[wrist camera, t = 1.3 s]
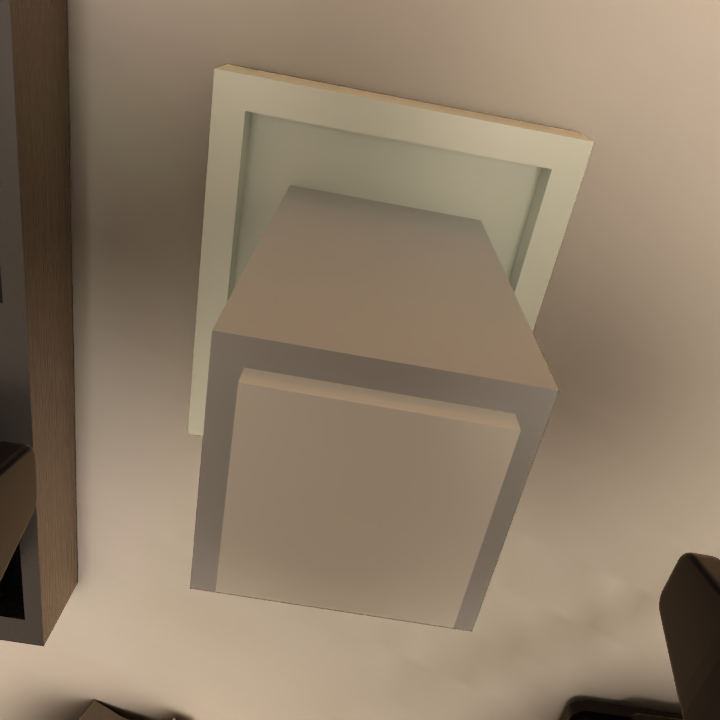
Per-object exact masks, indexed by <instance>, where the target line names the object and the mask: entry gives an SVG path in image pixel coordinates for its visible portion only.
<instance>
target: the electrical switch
mask: <svg viewBox="0 0 720 720" xmlns="http://www.w3.org/2000/svg"><path fill="white" fill-rule="evenodd" d="M79 720H128V719H126V718H123V717H121V716H119V715H118V714H116V713H115V712H113V711H112V710H110V709H109V708H107V707H106V706H104V705H102V704H101V703H99V702H98V701H95V700H94V701H93V702H92V704H91V705H90V706H89V707H88V709H87V710H86V711H85V712H84V713H83V715H82V716H81V717H80V718H79ZM172 720H176V719H175V717H174V718H173V719H172Z"/></svg>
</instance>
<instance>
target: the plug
mask: <svg viewBox="0 0 720 720" xmlns="http://www.w3.org/2000/svg"><path fill="white" fill-rule="evenodd" d="M558 392H559V389H558V387H557V385H556V383H555V380H554V378H553V376H552V374H551V372H550V370H549V367H548V365H547V363H546V361H545V359H544V357H543V354H542V352H541V350H540V348H539V346H538V344H537V341H536V339H535V337H534V335H533V333H532V330H531V328H530V326H529V324H528V322H527V320H526V317H525V315H524V313H523V311H522V309H521V307H520V304H519V302H518V300H517V298H516V296H515V294H514V291H513V289H512V287H511V285H510V283H509V281H508V278H507V276H506V274H505V272H504V270H503V268H502V265H501V263H500V261H499V259H498V257H497V254H496V252H495V250H494V248H493V246H492V244H491V241H490V239H489V237H488V235H487V233H486V231H485V228H484V226H483V224H482V222H481V220H476V219H471V218H466V217H460V216H455V215H449V214H444V213H439V212H433V211H428V210H422V209H417V208H412V207H406V206H401V205H395V204H390V203H385V202H379V201H374V200H368V199H363V198H358V197H352V196H347V195H341V194H336V193H331V192H325V191H320V190H314V189H309V188H304V187H298V186H293V185H290V186H289V188H288V190H287V192H286V194H285V195H284V197H283V199H282V201H281V203H280V205H279V207H278V208H277V210H276V212H275V214H274V216H273V218H272V220H271V221H270V223H269V225H268V227H267V229H266V231H265V233H264V234H263V236H262V238H261V240H260V242H259V244H258V246H257V248H256V249H255V251H254V253H253V255H252V257H251V259H250V261H249V262H248V264H247V266H246V268H245V270H244V272H243V274H242V275H241V277H240V279H239V281H238V283H237V285H236V287H235V288H234V290H233V292H232V294H231V296H230V298H229V300H228V301H227V303H226V305H225V307H224V309H223V311H222V313H221V314H220V316H219V318H218V320H217V322H216V324H215V326H214V328H213V329H212V336H211V348H210V360H209V372H208V383H207V395H206V407H205V418H204V430H203V442H202V454H201V465H200V477H199V489H198V500H197V512H196V524H195V536H194V547H193V559H192V571H191V583H190V589H197V590H203V591H210V592H216V593H223V594H229V595H236V596H243V597H249V598H256V599H262V600H269V601H275V602H282V603H288V604H295V605H301V606H308V607H315V608H321V609H328V610H334V611H341V612H347V613H354V614H360V615H367V616H374V617H380V618H387V619H393V620H400V621H406V622H413V623H419V624H426V625H433V626H439V627H446V628H452V629H459V630H465V631H472V630H473V627H474V625H475V622H476V619H477V616H478V613H479V611H480V608H481V605H482V602H483V600H484V597H485V594H486V591H487V589H488V586H489V583H490V580H491V577H492V575H493V572H494V569H495V566H496V564H497V561H498V558H499V555H500V552H501V550H502V547H503V544H504V541H505V539H506V536H507V533H508V530H509V528H510V525H511V522H512V519H513V516H514V514H515V511H516V508H517V505H518V503H519V500H520V497H521V494H522V492H523V489H524V486H525V483H526V480H527V478H528V475H529V472H530V469H531V467H532V464H533V461H534V458H535V455H536V453H537V450H538V447H539V444H540V442H541V439H542V436H543V433H544V431H545V428H546V425H547V422H548V419H549V417H550V414H551V411H552V408H553V406H554V403H555V400H556V397H557V394H558Z"/></svg>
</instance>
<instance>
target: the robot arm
mask: <svg viewBox="0 0 720 720" xmlns="http://www.w3.org/2000/svg"><path fill="white" fill-rule="evenodd" d="M36 502H37V474H36V456H35V451H34V449H33V448H32V447H31V446H30V445H28V444H22V443H16V442H10V441H0V581H1V579H2V576H3V574H4V572H5V570H6V568H7V566H8V564H9V562H10V560H11V558H12V556H13V553H14V551H15V549H16V547H17V545H18V543H19V541H20V539H21V537H22V535H23V533H24V530H25V528H26V526H27V524H28V522H29V520H30V518H31V516H32V514H33V511H34V509H35V506H36ZM659 610H660V616H661V620H662V625H663V630H664V634H665V639H666V643H667V648H668V653H669V657H670V662H671V667H672V671H673V676H674V681H675V685H676V690H677V695H678V699H679V703H680V707H681V711H682V715H679V714H672V713H666V712H659V711H652V710H645V709H639V708H632V707H625V706H619V705H612V704H605V703H598V702H592V701H576V702H573V703H572V704H570V705H569V706H568V707H567V709H566V711H565V713H564V715H563V718H562V720H720V560H719V559H718V558H716V557H713V556H709V555H703V554H697V553H685V554H683V555H682V556H681V557H680V559H679V560H678V562H677V564H676V566H675V568H674V570H673V571H672V573H671V575H670V577H669V579H668V581H667V583H666V585H665V587H664V589H663V591H662V593H661V596H660V602H659Z"/></svg>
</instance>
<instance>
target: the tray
mask: <svg viewBox="0 0 720 720" xmlns="http://www.w3.org/2000/svg"><path fill="white" fill-rule="evenodd" d="M593 145H594V141H592V140H590V139H589V138H587V137H586V136H584V135H582V134H581V133H579V132H575V131H570V130H565V129H560V128H555V127H550V126H544V125H539V124H534V123H529V122H524V121H519V120H513V119H508V118H503V117H498V116H493V115H488V114H482V113H477V112H472V111H467V110H462V109H457V108H451V107H446V106H441V105H436V104H431V103H426V102H420V101H415V100H410V99H405V98H400V97H395V96H389V95H384V94H379V93H374V92H369V91H364V90H359V89H353V88H348V87H343V86H338V85H333V84H328V83H322V82H317V81H312V80H307V79H302V78H297V77H291V76H286V75H281V74H276V73H271V72H266V71H260V70H255V69H250V68H245V67H240V66H235V65H229V64H226V65H223V66H220V67H217V68H215V69H214V79H213V93H212V107H211V120H210V134H209V148H208V162H207V175H206V189H205V203H204V217H203V230H202V244H201V258H200V272H199V285H198V299H197V313H196V327H195V340H194V354H193V368H192V382H191V395H190V409H189V423H188V434H193V435H199V436H203V430H204V418H205V407H206V395H207V383H208V372H209V360H210V348H211V336H212V329H213V328H214V326H215V324H216V322H217V320H218V318H219V316H220V314H221V313H222V311H223V309H224V307H225V305H226V303H227V301H228V300H229V298H230V296H231V294H232V292H233V290H234V288H235V287H236V285H237V283H238V281H239V279H240V277H241V275H242V274H243V272H244V270H245V268H246V266H247V264H248V262H249V261H250V259H251V257H252V255H253V253H254V251H255V249H256V248H257V246H258V244H259V242H260V240H261V238H262V236H263V234H264V233H265V231H266V229H267V227H268V225H269V223H270V221H271V220H272V218H273V216H274V214H275V212H276V210H277V208H278V207H279V205H280V203H281V201H282V199H283V197H284V195H285V194H286V192H287V190H288V188H289V186H290V185H293V186H298V187H304V188H309V189H314V190H320V191H325V192H331V193H336V194H341V195H347V196H352V197H358V198H363V199H368V200H374V201H379V202H385V203H390V204H395V205H401V206H406V207H412V208H417V209H422V210H428V211H433V212H439V213H444V214H449V215H455V216H460V217H466V218H471V219H476V220H481V222H482V224H483V226H484V228H485V231H486V233H487V235H488V237H489V239H490V241H491V244H492V246H493V248H494V250H495V252H496V254H497V257H498V259H499V261H500V263H501V265H502V268H503V270H504V272H505V274H506V276H507V278H508V281H509V283H510V285H511V287H512V289H513V291H514V294H515V296H516V298H517V300H518V302H519V304H520V307H521V309H522V311H523V313H524V315H525V317H526V320H527V322H528V324H529V326H530V328H531V330H532V333H533V330H534V327H535V323H536V320H537V317H538V314H539V311H540V308H541V305H542V302H543V299H544V296H545V293H546V290H547V287H548V283H549V280H550V277H551V274H552V271H553V268H554V265H555V262H556V259H557V256H558V253H559V250H560V247H561V244H562V240H563V237H564V234H565V231H566V228H567V225H568V222H569V219H570V216H571V213H572V210H573V207H574V204H575V200H576V197H577V194H578V191H579V188H580V185H581V182H582V179H583V176H584V173H585V170H586V167H587V164H588V161H589V157H590V154H591V151H592V148H593Z"/></svg>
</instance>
